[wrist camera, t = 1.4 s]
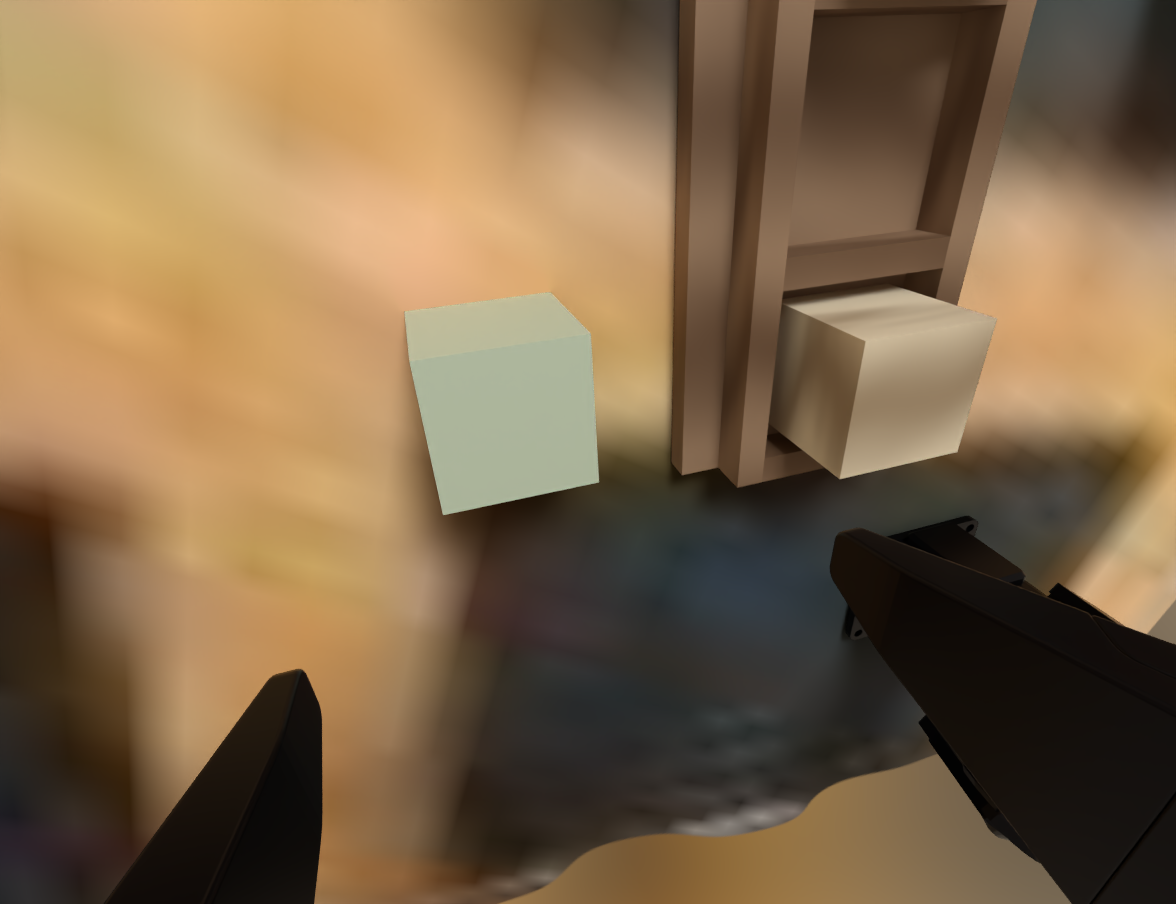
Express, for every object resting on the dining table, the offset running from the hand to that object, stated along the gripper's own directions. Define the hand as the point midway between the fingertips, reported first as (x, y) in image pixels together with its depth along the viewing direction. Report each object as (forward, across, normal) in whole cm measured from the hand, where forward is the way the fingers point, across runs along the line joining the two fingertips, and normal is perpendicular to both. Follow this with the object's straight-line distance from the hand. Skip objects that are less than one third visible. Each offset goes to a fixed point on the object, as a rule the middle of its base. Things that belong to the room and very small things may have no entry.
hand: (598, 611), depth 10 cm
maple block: (+10, -12, +1) cm, 16 cm away
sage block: (+12, 0, 0) cm, 12 cm away
